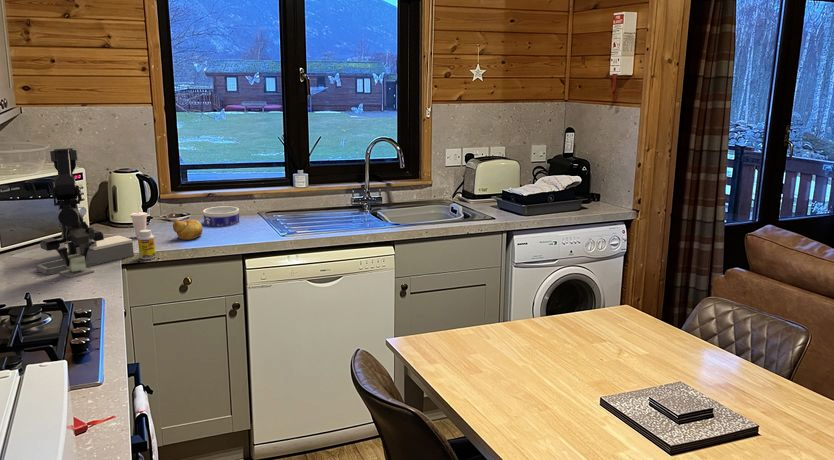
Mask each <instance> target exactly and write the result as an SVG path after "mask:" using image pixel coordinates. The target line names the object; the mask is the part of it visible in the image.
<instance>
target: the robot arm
mask: <svg viewBox="0 0 834 460" xmlns="http://www.w3.org/2000/svg"><path fill="white" fill-rule="evenodd" d="M49 155H50V163H53V166H54V169H55V170H56V171H57V177H56V178H55V179H54V186H53V187H52V195H53V205H54V207H57V206H58V217H57V219H58V221H59V223H58V225H59V226H60V233H61V234H60V239H56V238H54V237H50V238H45V239H41V241H40V242H39V244H40V249H41V250H45V251H46V252H49V251H56V252H57V253H58V254H59V255H60V257H61V259H63V261H64V262H65V264H66V265H67V266H69V259H68V256H70V255H75V254H77V251H76V248H78V247H80V254H81V255H83V256H85V260H86V256H87V252H88V249H89V247H90V246H91V245H92V244H94V242H92V240H94V241H100V240H104V238H105V236H104V233H103V232H102V231H100V230H97V229H94V227H93V226H92V227H91V226H90V227H89V225H88V223H87V222H86V221H84V216H83V214H81V212H79V206H78V205H80V204H81V202H82V201H83V199H82V197H83V196H82V190H81V189H82V188H80V186H79V185H78V184H76V178H74V171H75V169H76V167H77V161H78V160H79V159H78V151H77V150H76V149H73V147H72V148H71V147H68V148H67V147H66V148H54V149H53V150H50V151H49ZM66 245H67V247H66Z"/></svg>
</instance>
